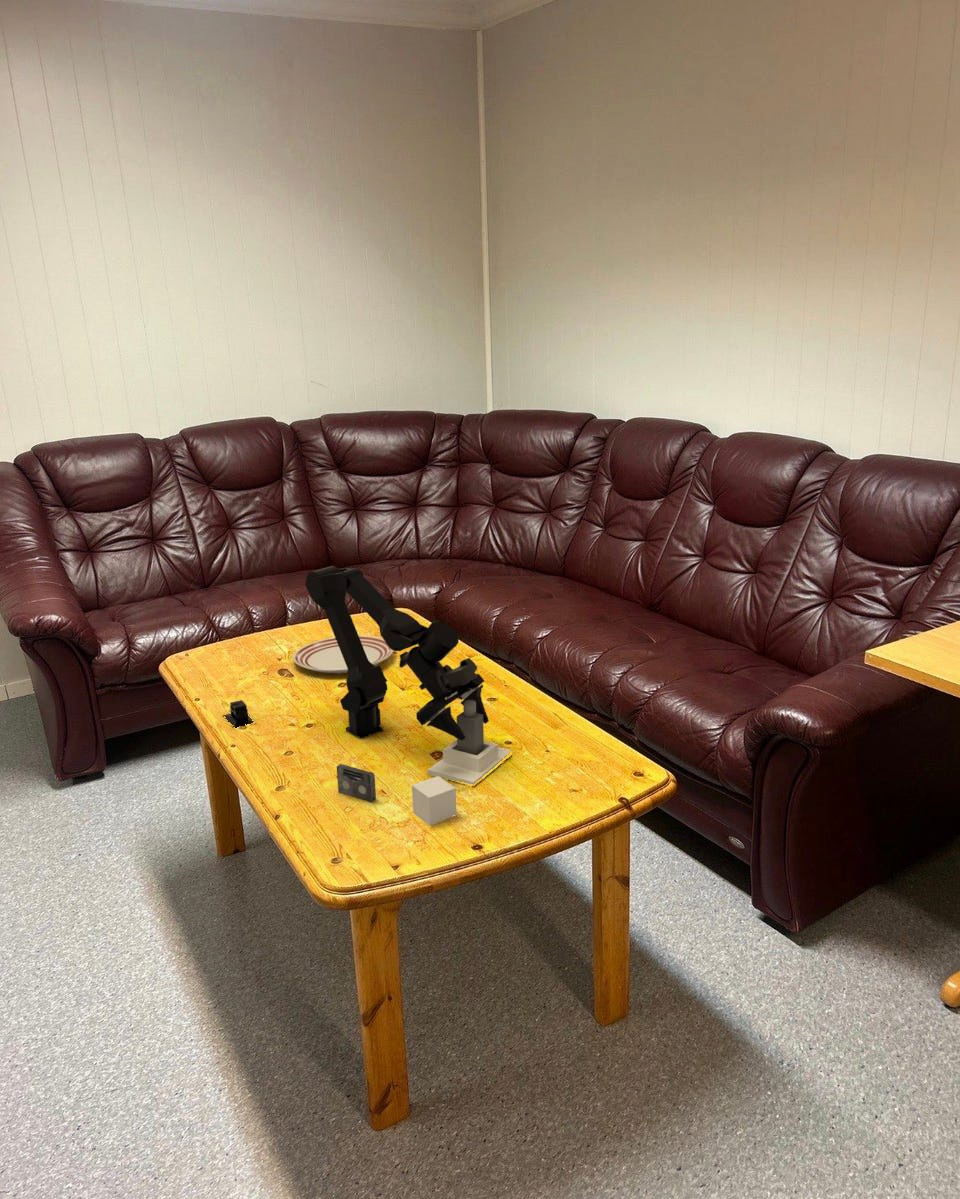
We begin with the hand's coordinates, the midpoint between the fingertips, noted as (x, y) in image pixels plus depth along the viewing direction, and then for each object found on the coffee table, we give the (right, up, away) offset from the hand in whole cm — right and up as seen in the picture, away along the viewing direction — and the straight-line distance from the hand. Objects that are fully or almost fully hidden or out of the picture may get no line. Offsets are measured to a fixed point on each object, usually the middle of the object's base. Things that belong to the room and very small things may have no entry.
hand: (475, 730), depth 193 cm
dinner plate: (-37, +10, +63) cm, 74 cm away
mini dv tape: (-24, -12, -8) cm, 28 cm away
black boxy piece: (-56, -2, +28) cm, 63 cm away
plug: (-1, -6, +3) cm, 7 cm away
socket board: (-1, -8, +3) cm, 8 cm away
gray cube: (-8, -14, -16) cm, 22 cm away
